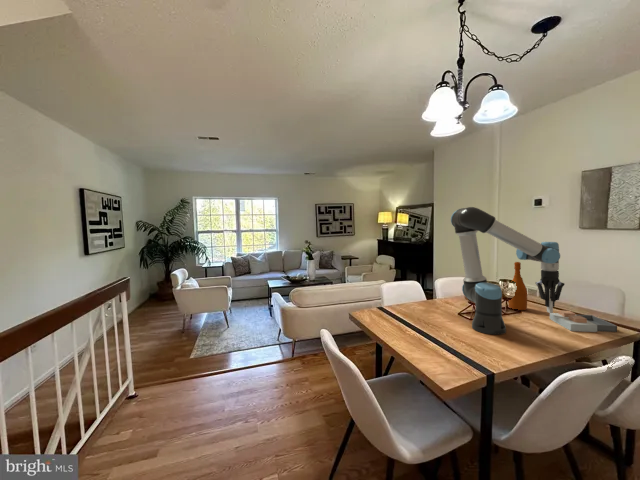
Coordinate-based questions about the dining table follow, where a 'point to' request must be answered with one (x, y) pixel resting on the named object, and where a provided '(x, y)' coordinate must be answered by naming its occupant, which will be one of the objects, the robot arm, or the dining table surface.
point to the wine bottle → (519, 291)
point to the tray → (601, 323)
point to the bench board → (573, 323)
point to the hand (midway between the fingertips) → (549, 312)
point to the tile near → (577, 319)
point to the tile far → (566, 313)
